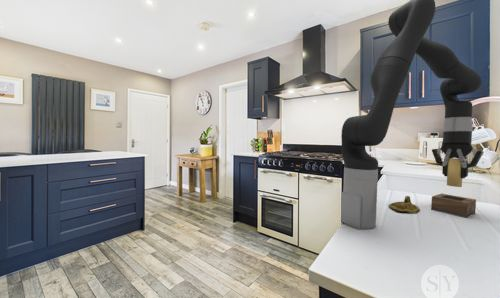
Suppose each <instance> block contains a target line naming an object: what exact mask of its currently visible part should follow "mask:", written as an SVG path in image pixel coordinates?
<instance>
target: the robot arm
mask: <svg viewBox="0 0 500 298" xmlns="http://www.w3.org/2000/svg"><path fill="white" fill-rule="evenodd" d="M435 14H436V1H435V0H408V1H407V2H406V3H404V4H403V5H401V6H400V7H398V8H397V9H395V10H394V11H393V12H392V13H391V14H390V16H389V17H388V28H389V30H390V32H391V33H392V34H393V36H395V38H394V39H393V40H392V41H391V43H390V44H389V45H388V46H387V47H386V49H385V50H383V52H382V53H381V54H380V56H379V57H378V59H377V61H376V63H375V65H374V68H373V70H372V73H371V75H370V81H369V82H370V86H371V89H372V90H371V91H372V92H373V96H374V97H373V101H372V104H371V107H370V109H369V111H368V113H367V114H364V115H355V116H350V117H348V118H346V119H345V121H344V122H343V124H342V127H341V136H340V137H341V157H342V160H343V163H344V165H343V167H344V168H343V190H342V191H341V201H340V202H341V203H340V204H341V206H340V209H341V211H340V222H341V223H343V222H344V223H343V224H345V225H347V226H350V227H353V228H354V229H355V228H356V229H357V230H360V229H365V230H366V229H374V228H376V225H377V202H378V201H377V200H378V182H379V181H378V178H379V161H378V159H377V158H375V157H373V156H371V155H370V154H369V153H368V152H367V150H366V147H375V146H378V145H380V144H381V143H382V142H383V141H384V139H385V138H386V136H387V133H388V130H389V127H390V123H391V121H392V120H391V119H392V116H393V113H394V108H395V105H396V102H397V100H398V97H399V95H400V91H401V89H402V86H403V84H404V82H405V80H406V79H407V76H408V72H409V71H410V68H411V65H412V62H413V60H414V57H415V55H417V56H419V57H420V59H421V60H422V61H423V62H424V63H425V64H426V65H427V66H428V68H429V69H430V70H431V72H432V73H433V74H434V75H435V76H436V78H437V79H443V81H442V82H441V84H440V85H439V92H440V95H441V98H442V102H443V105H444V121H443V126H442V127H443V129H442V130H443V131H442V145H441V147H440V148H439V147H438V148H432V149H431V152H432V155H433V158H434V161H435V162H436V163H435V164H436V165H440V166H442V170H441V171H442V175H443V176H444V177H447V169H448V160H449V158H457V159H460V162H461V164H462V168H461V178H462V179H466V178H467V177H468V176H469V168H473V167H476V166H477V165H478V164H479V161H480V160H481V158H482V156H483V155H484V151H483V150H478V149H476V148H475V149H474V147H473V146H472V145H473V144H472V142H473V141H472V139H473V138H472V137H473V128H474V126H473V118H472V117H473V103H472V102H471V101H469V100H459V98H458V96H460V95H467V94H471V93H474V92H476V91H478V90H480V88H481V86H482V84H483V83H482V78H481V75H480V74H479V73H478V72H477V71H476V70H474V69H473V68H471V67H469V66H468V65H466V64H464V63H463V62H461V61H460V59H459V58H458V56H457V55H456V54H455V52H454V51H453V50H452V49H451V48H450V47H448V46H447V45H445V44H443V43H440V42H438V41H436V40H432V39H429V38H427V37H425V34H426V33H427V31H428V29H429V27H430V25H431V23H432V21H433V20H434V17H435ZM442 153H443V154H444V155H445V156H444V158H443V159H442V157H441V154H442ZM471 153H472V156H473V158H472V159H471V161H470V163H469V161H468V160H469V159H468V155H469V154H471Z"/></svg>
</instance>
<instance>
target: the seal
mask: <svg viewBox="0 0 500 298" xmlns="http://www.w3.org/2000/svg"><path fill="white" fill-rule="evenodd" d="M388 208H389V210H391V211H393V212H395V213H397V214H398V213H401V214H406V215H408V214H410V215H412V214H418V213H420V210H421V209H420V207H419V206H417V205H416V204H413V203H412V201H411V196H409V195H405V196H404V200H403V201H396V202H391V203H389V204H388Z"/></svg>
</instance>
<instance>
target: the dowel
mask: <svg viewBox="0 0 500 298" xmlns="http://www.w3.org/2000/svg"><path fill="white" fill-rule="evenodd" d="M461 168H462V164H461V162H460V159H459V158H449V160H448V169H447V176H446V186H448V187H455V188H462V186H463V178H461Z"/></svg>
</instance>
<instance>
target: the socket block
mask: <svg viewBox="0 0 500 298" xmlns="http://www.w3.org/2000/svg"><path fill="white" fill-rule="evenodd" d="M430 205H431V207H430V208H431V209H430V210H431V211H436V212H440V213H444V214H449V215H453V216H458V217H462V218H466V219H467V218H469V217H471V216H473V215H474V214H476V210H477V209H476V207H477V199H475V198H469V197H464V196H460V195H459V196H457V195H452V194H445V193H439V194H436V195H432V196H431V204H430Z"/></svg>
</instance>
